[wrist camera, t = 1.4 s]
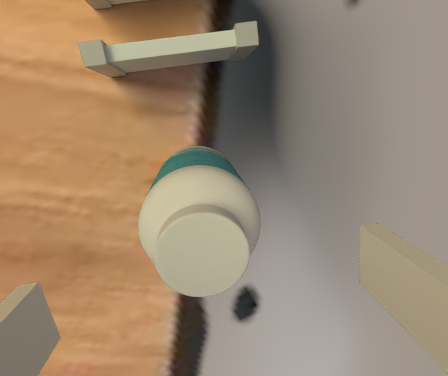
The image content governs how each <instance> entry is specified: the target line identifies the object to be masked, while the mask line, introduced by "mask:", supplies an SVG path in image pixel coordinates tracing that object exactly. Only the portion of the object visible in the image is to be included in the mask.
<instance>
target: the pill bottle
mask: <svg viewBox="0 0 448 376" xmlns="http://www.w3.org/2000/svg"><path fill="white" fill-rule="evenodd" d="M138 231H139V238H140V242H141V245H142V247H143V249H144V251H145V253H146V254H147V256H148V257H149V259H150V260H151V261H152V262H153V263H154V265H155V266H156V269H157V272H158V274H159V276H160V277H161V279H162V280H163V281H164V282H165V283H166V284H167V285H168V286H169V287H170V288H172V289H173V290H175V291H177V292H179V293H181V294H184V295H187V296H193V297H207V296H212V295H215V294H219V293H221V292H223V291H225V290H227V289H229V288H230V287H232V286H233V285H234V284H235V283H236V282H237V281H238V280H239V279H240V278H241V277H242V275H243V273H244V272H245V270H246V268H247V265H248V262H249V257H250V255H251V253H252V252H253V250H254V248H255V246H256V243H257V240H258V237H259V232H260V214H259V209H258V206H257V203H256V201H255V199H254V197H253V195H252V194H251V192H250V190H249V189H248V188H247V186H246V185H245V183H244V182H243V180H242V179H241V178H240V176H239V175H238V174H237V172H236V170H235V169H234V168H233V166H232V165H231V163H230V162H229V161H228V160H227V159H226V158H225V157H224V156H223V155H222V154H221V153H219V152H218V151H216V150H214V149H211V148H208V147H204V146H190V147H186V148H183V149H180V150H178V151H176V152H175V153H173V154H172V155H171V156H170V157H169V158H168V159H167V160H166V161H165V162H164V164H163V165H162V167H161V169H160V171H159V173H158V175H157V177H156V179H155V181H154V182H153V184H152V186H151V188H150V190H149V192H148V194H147V196H146V198H145V200H144V202H143V205H142V207H141V210H140V214H139V221H138Z"/></svg>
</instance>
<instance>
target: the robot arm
mask: <svg viewBox="0 0 448 376" xmlns="http://www.w3.org/2000/svg"><path fill="white" fill-rule="evenodd" d="M360 283H361V284H362V285H363V286H364V287H365V288H366V289H367V290H368V291H369V292H370V293H371V294H372V295H373V296H374V298H375V299H376V300H377V301H379V303H380V304H381V305H382V306H383V307H384V308H385V309H386V310H387V311H388V312H389V313H390V314H391V315H392V316H393V317H394V318H395V319H396V320H397V321H398V323H399V324H400V325H401V326H402V327H403V328H404V329H405V330H406V331H407V332H408V333H409V334H410V335H411V336H412V337H413V338H414V339H415V340H416V341H417V342H418V343H419V344H420V345H421V346H422V348H424V350H425V351H426V352H427V353H428V354H429V355H430V356H431V357H432V358H433V359H434V360H435V361H436V362H437V363H438V364H439V365H440V366H441V367H442V368H443V369H444V370H445V371H446V373H447V374H448V266H447V265H445V264H444V263H442V262H440V261H439V260H437V259H435V258H434V257H432V256H430V255H429V254H427V253H426V252H424V251H422V250H421V249H419V248H417V247H416V246H414V245H413V244H411V243H409V242H407V241H406V240H404V239H403V238H401V237H399V236H398V235H396V234H395V233H393V232H391V231H390V230H388V229H386V228H385V227H383V226H382V225H380V224H378V223H376V224H370V225H364V226H360ZM60 338H61V337H60V335H59V332H58V330H57V327H56V325H55V322H54V319H53V317H52V314H51V312H50V309H49V307H48V304H47V302H46V299H45V297H44V294H43V292H42V289H41V287H40V284H39V282H35V283H30V284H24V285H18V286H17V287H16V288H15V289H14V290H13V291H12V292H11V293H10V294H9V295H8V296H7V297H6V298H5V299H4V300H3V301H2V302H1V303H0V376H38V374H39V373H40V371H41V369H42V368H43V366H44V364H45V363H46V361H47V359H48V358H49V356H50V354H51V353H52V351H53V349H54V348H55V346H56V344H57V343H58V341H59V339H60Z"/></svg>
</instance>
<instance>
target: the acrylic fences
mask: <svg viewBox="0 0 448 376" xmlns="http://www.w3.org/2000/svg"><path fill="white" fill-rule="evenodd" d="M85 1H86V2H87V3H88V4H89V5H90V6H91V7H92V8H93V9H102V8H111V7H112V5H111V4H120V3H129V2H138V1H147V0H85ZM78 45H79V49H80V53H81V56H82V60H83V64H84V67H86V68H89V69H91V70H93V71H96V72H98V73H101V74H103V75H106V76H108V77H118V76H126V75H127V73H129V72H136V71H144V70H152V69H160V68H167V67H175V66H183V65H191V64H198V63H206V62H214V61H222V60H227V61H228V62H234V61H241V60H244V59H245V58H246V57H247V56H248V55H249V54H250V53H251V52H252V51H253V50H254V49H255V48H256V47H257V46H258V45H259V43H258V31H257V21H252V22H244V23H236V24H235V26H234V28H233V30H228V31H220V32H211V33H203V34H195V35H187V36H179V37H170V38H162V39H154V40H146V41H137V42H129V43H121V44H113V45H107V44H106V43H104V42H103V41H102V40H94V41H85V42H78Z"/></svg>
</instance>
